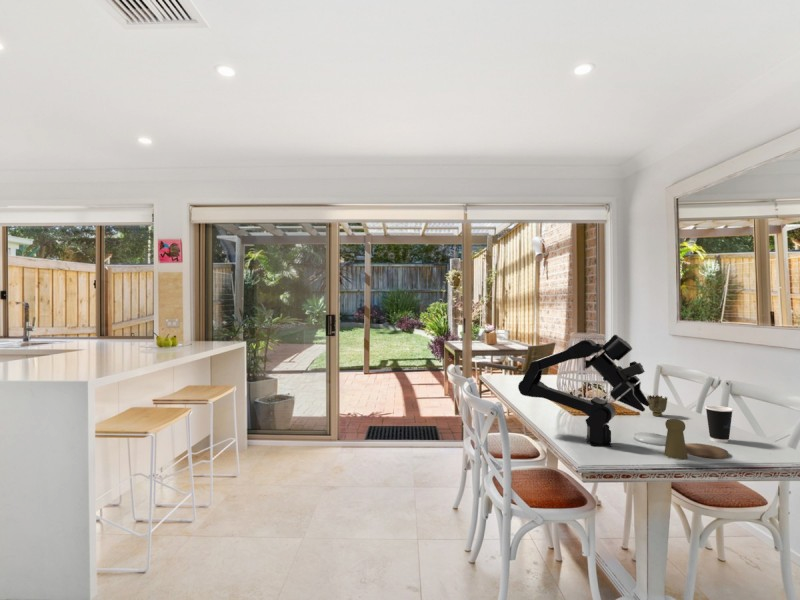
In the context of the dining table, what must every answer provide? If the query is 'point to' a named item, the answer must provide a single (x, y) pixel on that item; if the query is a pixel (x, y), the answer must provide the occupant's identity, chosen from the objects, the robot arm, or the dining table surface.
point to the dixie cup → (719, 422)
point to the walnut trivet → (706, 451)
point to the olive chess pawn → (675, 439)
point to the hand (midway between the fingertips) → (646, 408)
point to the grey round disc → (651, 438)
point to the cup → (657, 404)
